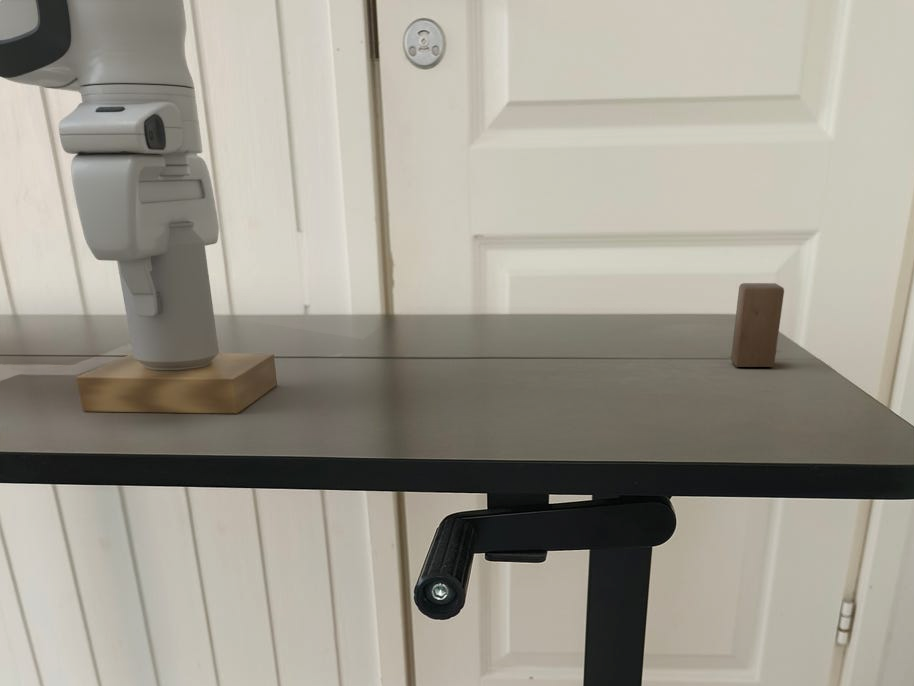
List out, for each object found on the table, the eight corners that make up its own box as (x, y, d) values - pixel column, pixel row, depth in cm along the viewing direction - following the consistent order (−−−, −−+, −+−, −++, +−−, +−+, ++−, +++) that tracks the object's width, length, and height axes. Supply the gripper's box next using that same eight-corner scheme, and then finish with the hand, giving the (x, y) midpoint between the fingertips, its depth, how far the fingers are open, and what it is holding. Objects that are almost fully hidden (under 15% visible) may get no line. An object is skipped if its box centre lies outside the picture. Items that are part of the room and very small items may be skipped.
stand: (82, 411, 80) (75, 376, 79) (140, 383, 91) (134, 352, 89) (237, 414, 79) (233, 378, 78) (277, 385, 90) (274, 353, 88)
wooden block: (735, 368, 95) (744, 287, 92) (730, 361, 99) (739, 282, 95) (774, 369, 95) (785, 287, 91) (767, 361, 99) (778, 282, 95)
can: (162, 375, 79) (137, 223, 73) (119, 365, 83) (93, 220, 78) (236, 363, 84) (218, 219, 78) (191, 354, 88) (172, 217, 83)
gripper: (158, 134, 84) (181, 293, 91) (45, 125, 66) (84, 324, 73) (224, 134, 84) (243, 294, 90) (128, 124, 66) (160, 324, 72)
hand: (171, 307), depth 81 cm, fingers open, 8 cm apart
